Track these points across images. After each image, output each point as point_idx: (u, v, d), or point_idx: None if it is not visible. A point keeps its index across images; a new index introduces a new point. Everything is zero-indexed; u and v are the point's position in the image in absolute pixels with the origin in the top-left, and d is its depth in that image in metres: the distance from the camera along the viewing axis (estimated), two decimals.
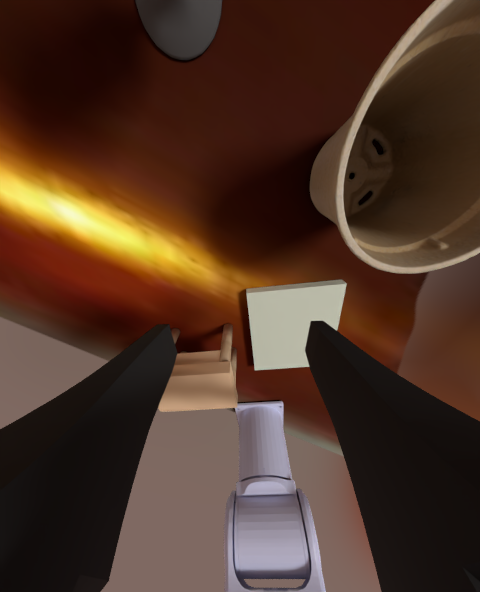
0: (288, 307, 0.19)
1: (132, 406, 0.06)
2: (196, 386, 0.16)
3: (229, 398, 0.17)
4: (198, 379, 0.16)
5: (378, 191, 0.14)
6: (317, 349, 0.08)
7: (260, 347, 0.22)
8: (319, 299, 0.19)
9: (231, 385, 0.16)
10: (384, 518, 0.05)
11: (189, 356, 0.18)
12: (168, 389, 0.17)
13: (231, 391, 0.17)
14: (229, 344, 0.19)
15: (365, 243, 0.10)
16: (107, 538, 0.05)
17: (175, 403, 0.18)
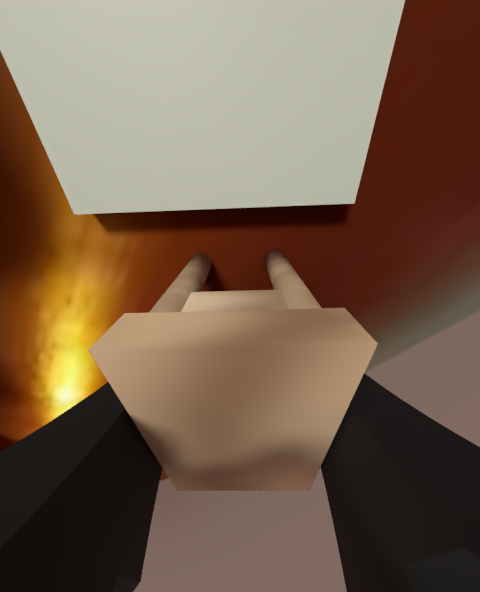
0: (77, 61, 0.06)
1: None
2: (199, 433, 0.05)
3: (285, 366, 0.04)
4: (160, 427, 0.05)
5: None
6: None
7: (254, 179, 0.07)
8: None
9: (183, 351, 0.03)
10: (348, 518, 0.05)
11: None
12: (215, 471, 0.06)
13: (227, 357, 0.03)
14: None
15: None
16: (138, 539, 0.05)
17: (278, 471, 0.06)
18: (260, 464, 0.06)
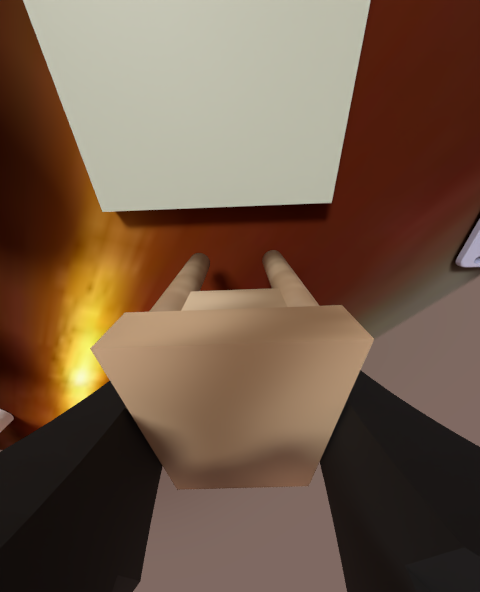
0: (113, 93, 0.07)
1: None
2: (200, 431, 0.05)
3: (285, 362, 0.04)
4: (161, 425, 0.05)
5: None
6: None
7: (250, 183, 0.09)
8: None
9: (185, 348, 0.03)
10: (348, 518, 0.05)
11: None
12: (216, 468, 0.06)
13: (228, 353, 0.04)
14: (173, 280, 0.07)
15: None
16: (138, 538, 0.05)
17: (278, 467, 0.06)
18: (260, 461, 0.06)
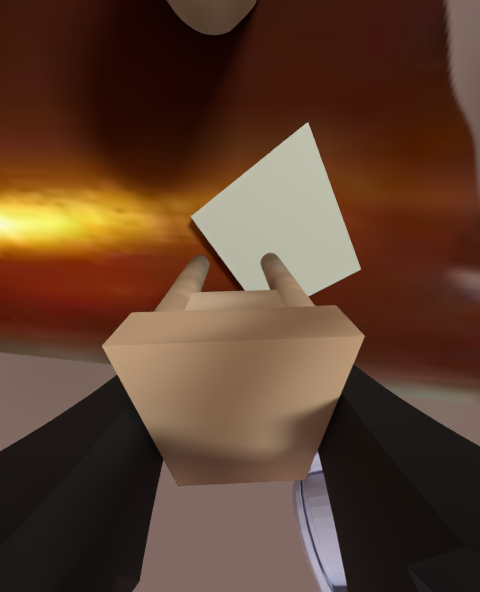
0: (251, 209, 0.14)
1: None
2: (202, 426, 0.05)
3: (283, 358, 0.04)
4: (165, 420, 0.05)
5: None
6: None
7: (253, 284, 0.17)
8: (284, 172, 0.13)
9: (191, 345, 0.04)
10: (349, 518, 0.05)
11: None
12: (216, 463, 0.07)
13: (231, 350, 0.04)
14: (175, 281, 0.07)
15: None
16: (138, 538, 0.05)
17: (275, 461, 0.07)
18: (259, 455, 0.06)
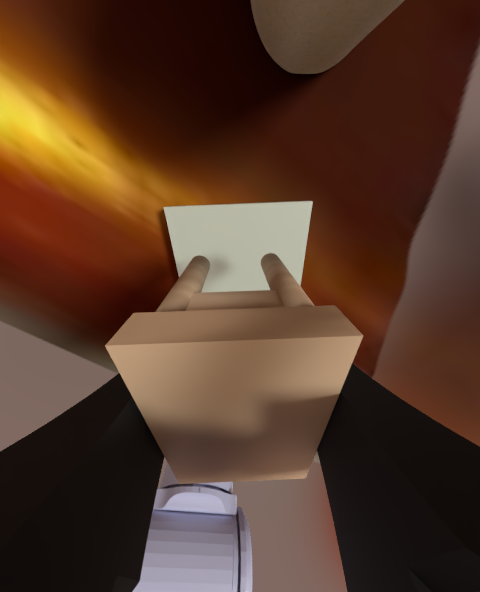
0: (229, 239, 0.13)
1: None
2: (203, 424, 0.05)
3: (283, 357, 0.04)
4: (167, 419, 0.05)
5: None
6: None
7: None
8: (274, 227, 0.13)
9: (192, 345, 0.04)
10: (349, 518, 0.05)
11: None
12: (217, 462, 0.07)
13: (232, 349, 0.04)
14: None
15: None
16: (138, 538, 0.05)
17: (276, 459, 0.07)
18: (259, 453, 0.06)
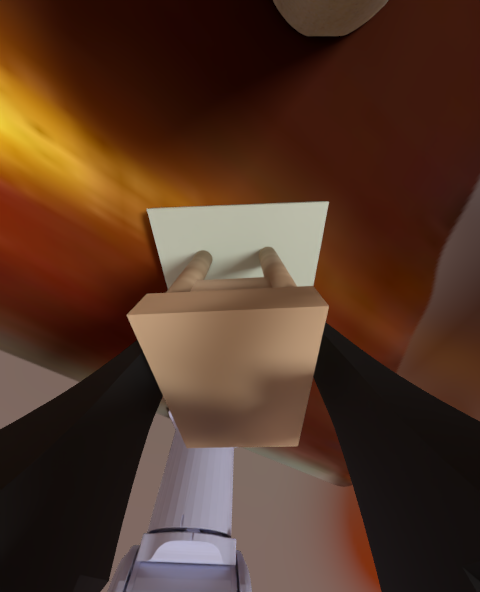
0: (226, 247, 0.11)
1: (132, 406, 0.06)
2: (204, 388, 0.06)
3: (265, 325, 0.05)
4: (174, 381, 0.06)
5: None
6: None
7: None
8: (280, 233, 0.10)
9: (193, 314, 0.05)
10: (384, 518, 0.05)
11: None
12: (218, 426, 0.08)
13: (224, 318, 0.05)
14: (182, 271, 0.08)
15: None
16: (106, 538, 0.05)
17: (269, 425, 0.08)
18: (254, 418, 0.07)
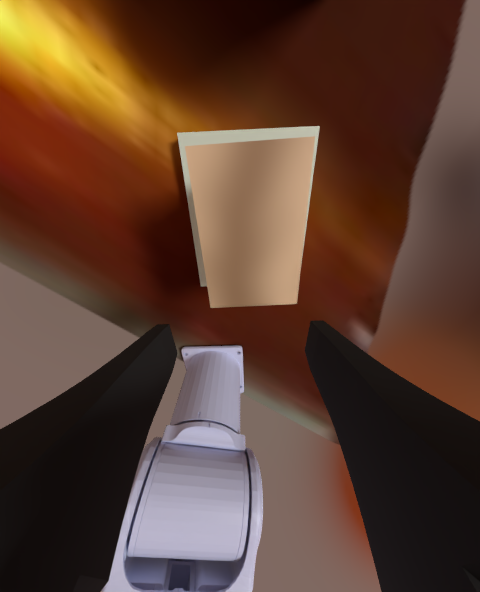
0: None
1: (132, 406, 0.06)
2: (230, 227, 0.09)
3: (274, 156, 0.08)
4: (209, 219, 0.09)
5: None
6: (317, 349, 0.08)
7: None
8: None
9: (227, 145, 0.07)
10: (384, 518, 0.05)
11: None
12: (237, 277, 0.10)
13: (247, 149, 0.07)
14: None
15: None
16: (106, 538, 0.05)
17: (275, 275, 0.10)
18: (264, 265, 0.10)
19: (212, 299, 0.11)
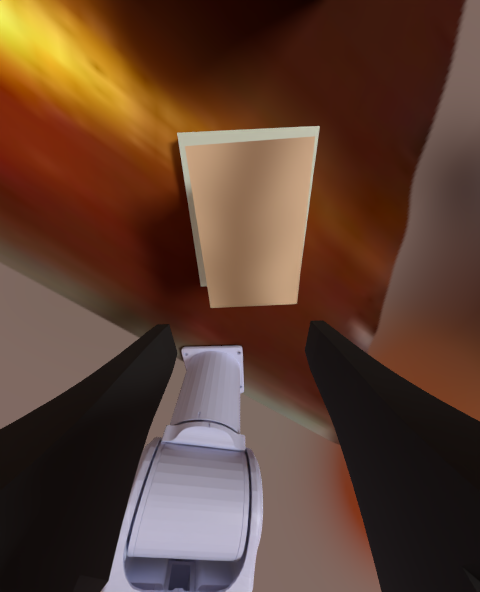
0: None
1: (132, 406, 0.06)
2: (230, 227, 0.09)
3: (274, 156, 0.08)
4: (209, 219, 0.09)
5: None
6: (317, 349, 0.08)
7: None
8: None
9: (227, 145, 0.07)
10: (384, 518, 0.05)
11: None
12: (237, 277, 0.10)
13: (247, 149, 0.07)
14: None
15: None
16: (106, 538, 0.05)
17: (275, 275, 0.10)
18: (264, 265, 0.10)
19: (212, 299, 0.11)
